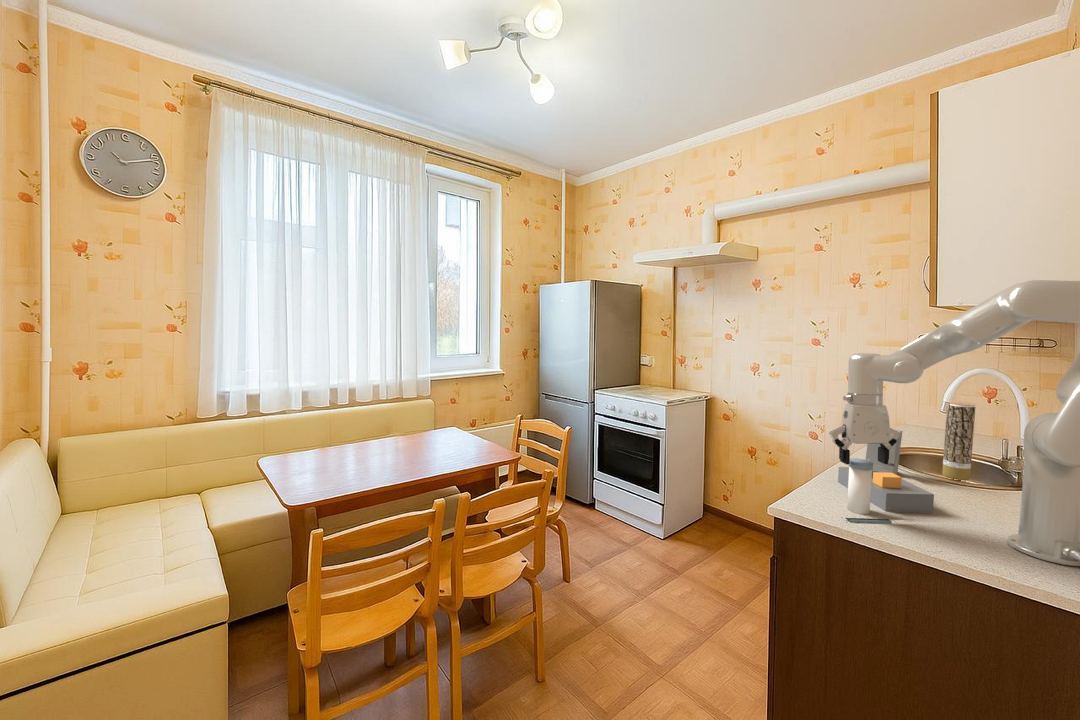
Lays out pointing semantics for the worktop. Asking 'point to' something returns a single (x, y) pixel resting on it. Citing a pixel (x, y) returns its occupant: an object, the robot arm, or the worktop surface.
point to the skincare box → (893, 456)
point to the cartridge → (859, 486)
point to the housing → (895, 495)
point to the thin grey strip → (869, 520)
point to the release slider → (887, 480)
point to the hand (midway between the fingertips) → (863, 462)
